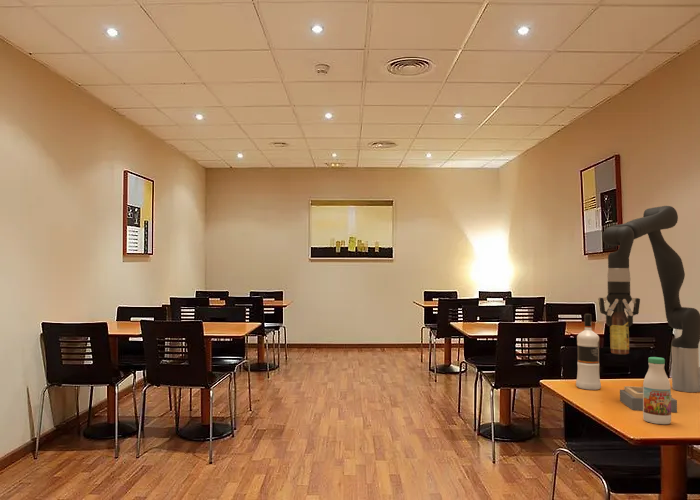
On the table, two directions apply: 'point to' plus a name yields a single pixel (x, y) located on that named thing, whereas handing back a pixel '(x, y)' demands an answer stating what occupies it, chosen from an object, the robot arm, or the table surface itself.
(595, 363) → the vodka
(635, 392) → the tray
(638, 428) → the table surface
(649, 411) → the milk bottle
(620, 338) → the sauce bottle
